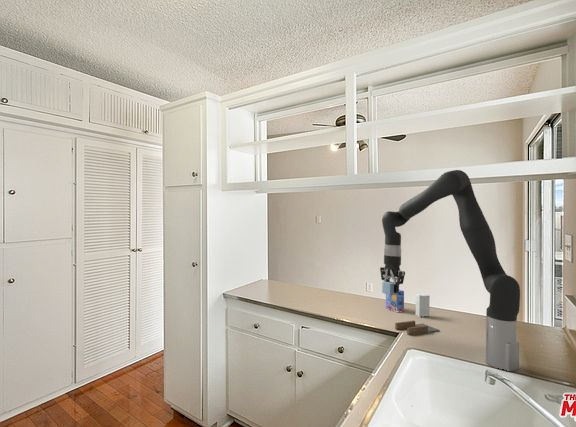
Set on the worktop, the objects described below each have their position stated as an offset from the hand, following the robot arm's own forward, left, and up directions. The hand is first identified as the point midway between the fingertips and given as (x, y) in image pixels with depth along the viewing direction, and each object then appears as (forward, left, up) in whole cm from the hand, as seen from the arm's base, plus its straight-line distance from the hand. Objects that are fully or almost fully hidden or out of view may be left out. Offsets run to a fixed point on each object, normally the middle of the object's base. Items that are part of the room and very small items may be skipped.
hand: (391, 291), depth 142 cm
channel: (0, -13, -19) cm, 23 cm away
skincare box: (+16, -38, -20) cm, 46 cm away
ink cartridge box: (+31, -32, -20) cm, 49 cm away
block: (0, +1, -1) cm, 1 cm away
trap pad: (0, -23, -19) cm, 30 cm away
